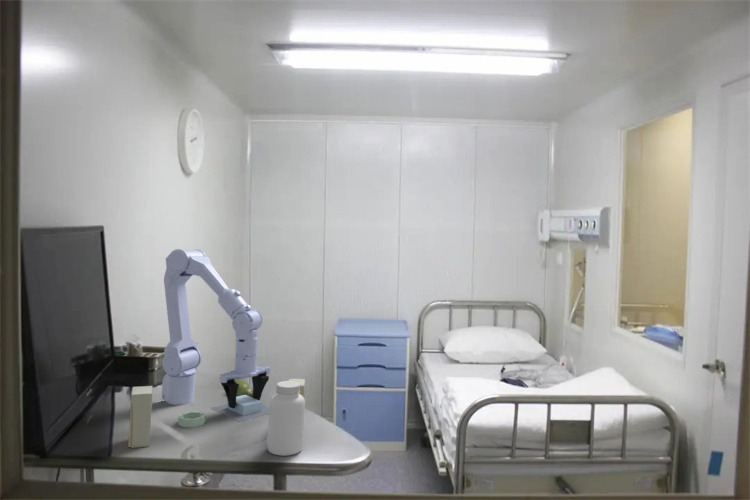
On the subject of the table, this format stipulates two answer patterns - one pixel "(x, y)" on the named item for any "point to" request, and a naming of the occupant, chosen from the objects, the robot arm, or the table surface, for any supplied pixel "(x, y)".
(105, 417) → the table surface
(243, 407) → the block
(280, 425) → the pill bottle
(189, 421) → the bowl
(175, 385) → the robot arm
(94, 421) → the table surface
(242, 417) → the mat
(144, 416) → the skincare box
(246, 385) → the pear
